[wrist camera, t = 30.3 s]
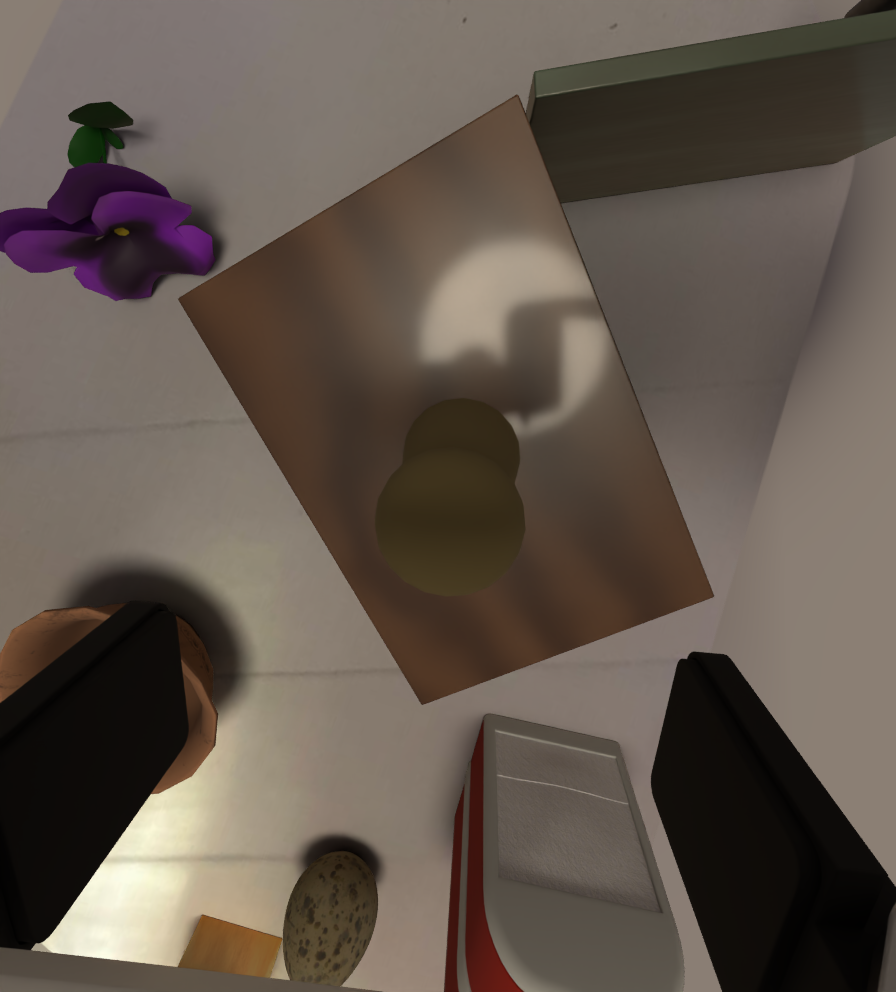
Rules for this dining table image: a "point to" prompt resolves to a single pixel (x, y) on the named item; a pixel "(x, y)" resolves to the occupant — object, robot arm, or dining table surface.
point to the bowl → (67, 626)
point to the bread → (230, 949)
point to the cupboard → (452, 375)
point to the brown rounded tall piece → (453, 501)
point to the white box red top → (555, 871)
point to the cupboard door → (719, 107)
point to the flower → (106, 220)
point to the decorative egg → (329, 919)
